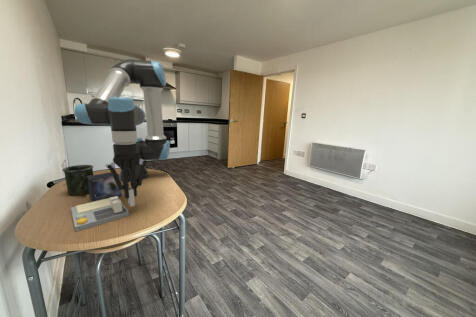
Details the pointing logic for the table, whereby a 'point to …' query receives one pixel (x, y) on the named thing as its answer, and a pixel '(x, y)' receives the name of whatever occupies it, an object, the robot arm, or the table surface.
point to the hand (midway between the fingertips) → (131, 204)
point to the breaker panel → (95, 214)
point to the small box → (102, 187)
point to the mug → (78, 179)
